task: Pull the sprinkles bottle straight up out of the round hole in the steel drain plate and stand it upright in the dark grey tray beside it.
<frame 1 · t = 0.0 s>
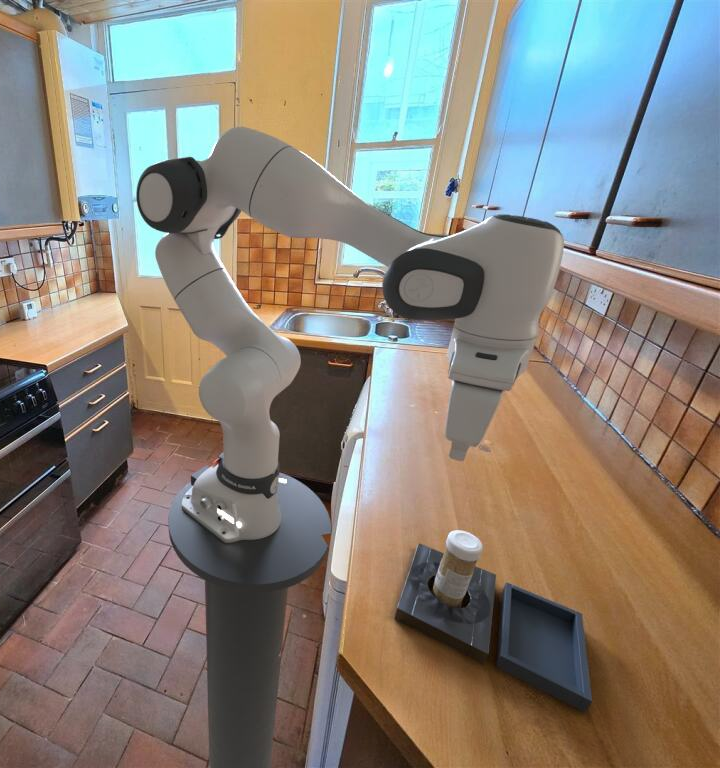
hand: (461, 441, 58), 28 cm above the worktop, tool pointing down, fingers open, 8 cm apart
basin tray: (537, 644, 60), on the worktop
drain plate: (445, 601, 66), on the worktop
sprinkles bottle: (444, 601, 66), resting in drain plate
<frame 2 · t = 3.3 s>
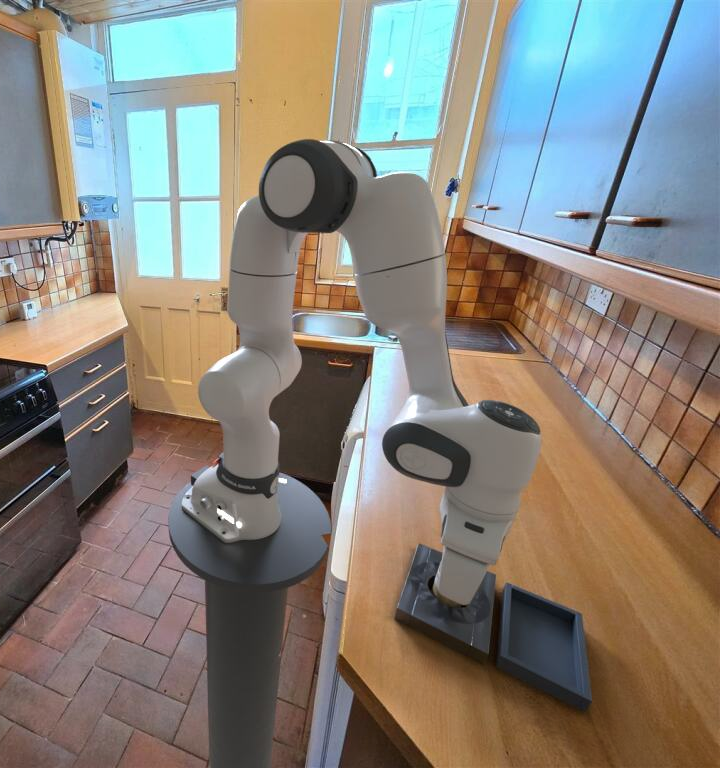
hand: (453, 576, 64), 6 cm above the worktop, tool pointing down, fingers closed on sprinkles bottle, 4 cm apart
sprinkles bottle: (444, 602, 66), resting in drain plate, touching gripper
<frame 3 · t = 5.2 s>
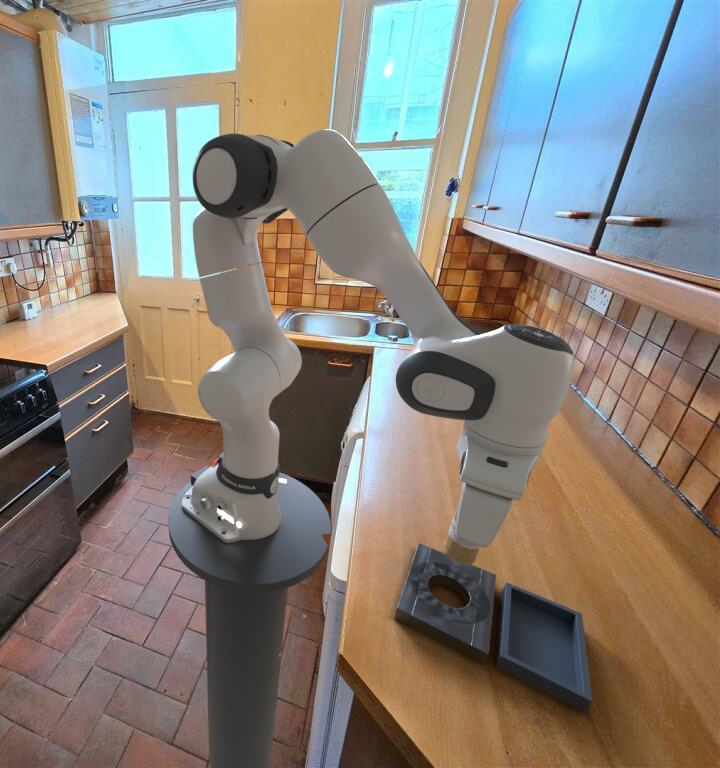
hand: (469, 525, 60), 16 cm above the worktop, tool pointing down, fingers closed on sprinkles bottle, 4 cm apart
sprinkles bottle: (458, 554, 62), point 10 cm above the worktop, touching gripper
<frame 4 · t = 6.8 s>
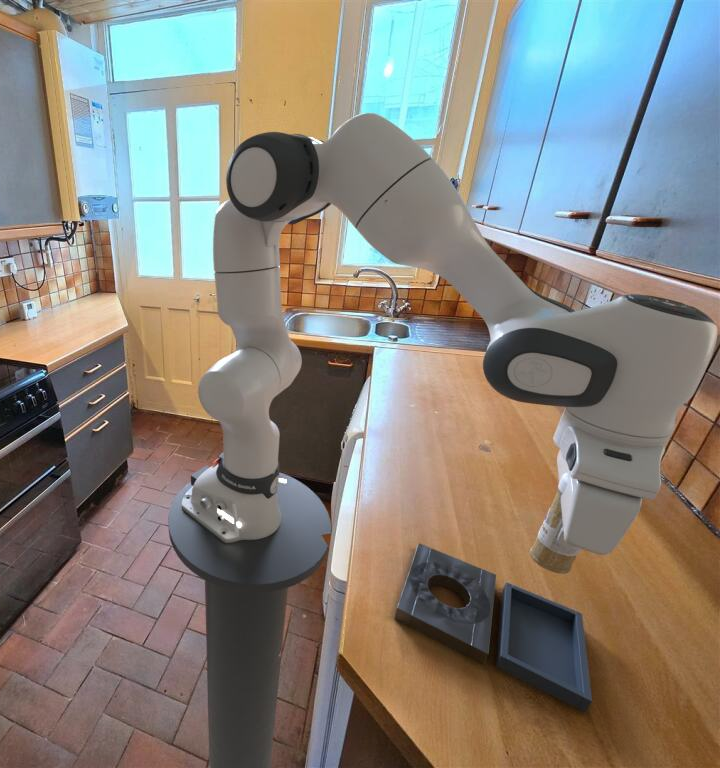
hand: (563, 529, 52), 21 cm above the worktop, tool pointing down, fingers closed on sprinkles bottle, 4 cm apart
sprinkles bottle: (548, 562, 55), point 15 cm above the worktop, touching gripper
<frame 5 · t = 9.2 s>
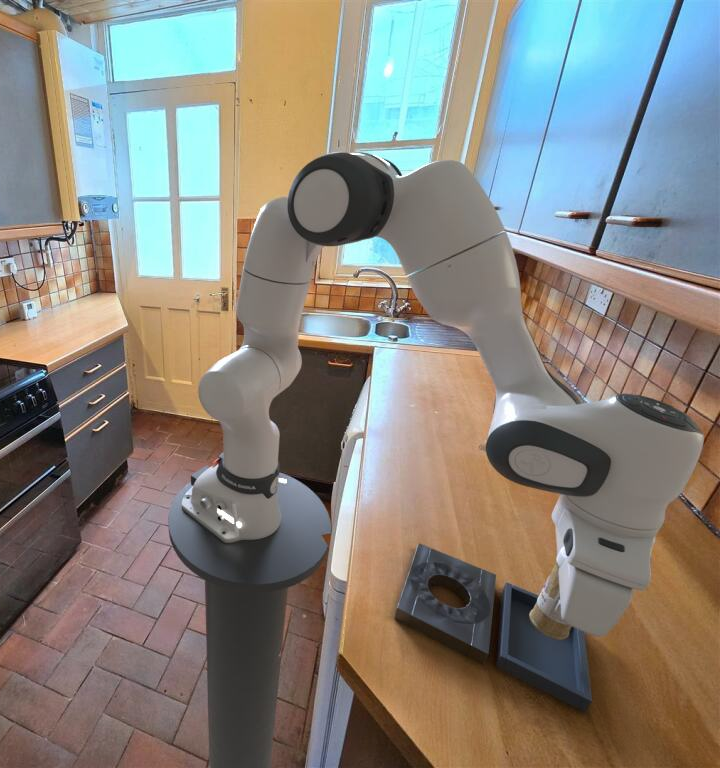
hand: (561, 598, 56), 10 cm above the worktop, tool pointing down, fingers closed on sprinkles bottle, 4 cm apart
sprinkles bottle: (547, 626, 58), point 4 cm above the worktop, touching gripper
when the fingers open (6 cm above the worktop, at t = 10.6 s): sprinkles bottle stays where it is, resting on basin tray.
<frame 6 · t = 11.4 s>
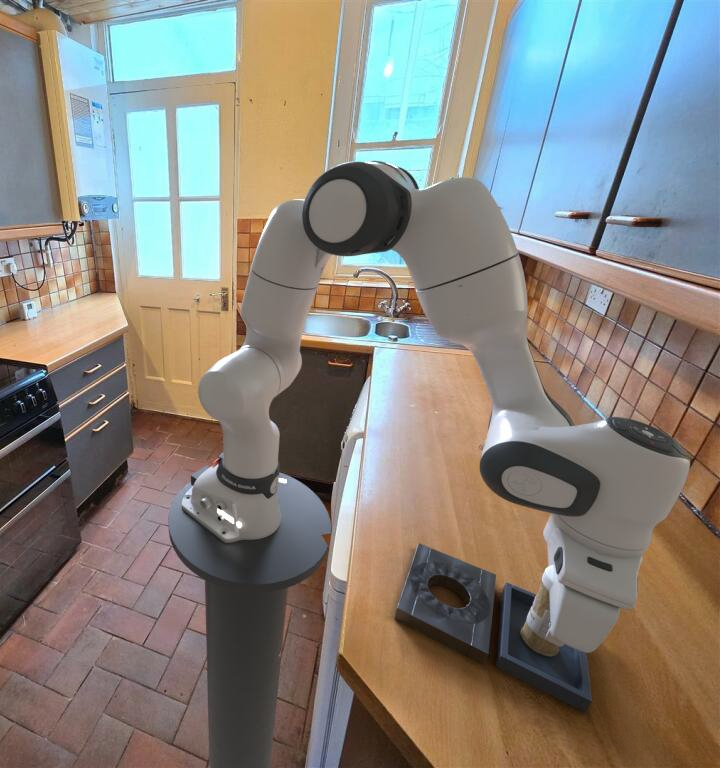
hand: (552, 612, 57), 7 cm above the worktop, tool pointing down, fingers open, 8 cm apart
sprinkles bottle: (538, 643, 60), resting on basin tray
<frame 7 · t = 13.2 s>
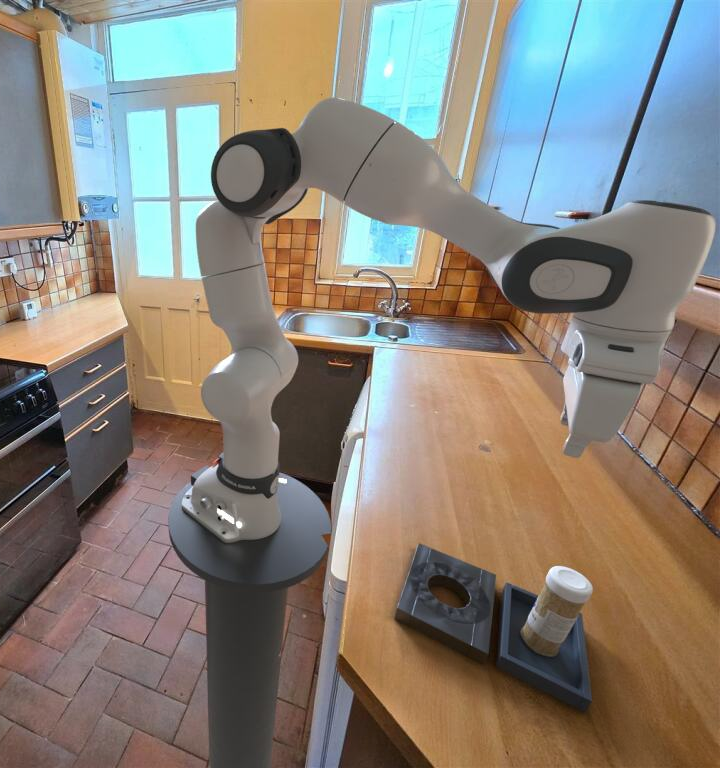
hand: (568, 438, 56), 30 cm above the worktop, tool pointing down, fingers open, 8 cm apart
nothing on the worktop moved.
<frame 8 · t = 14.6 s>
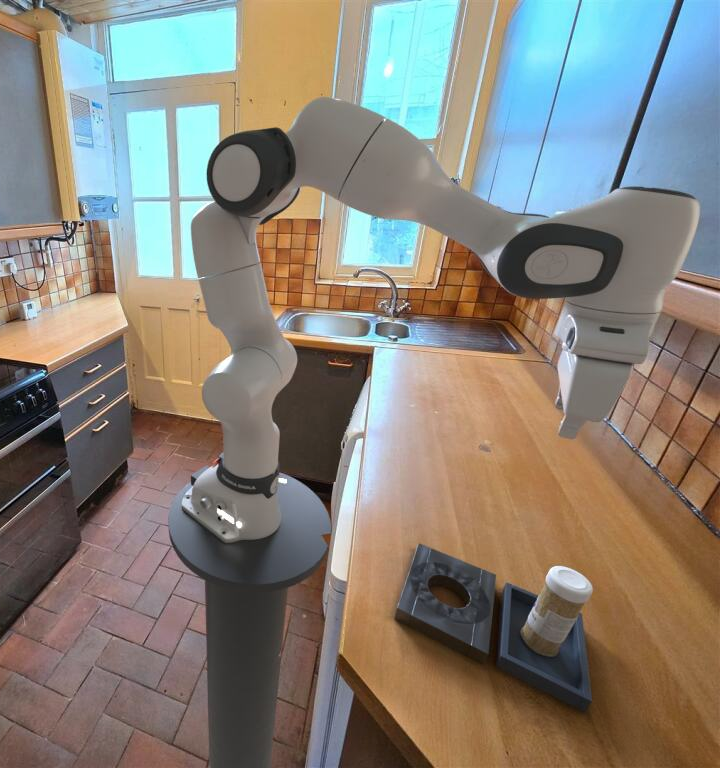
hand: (563, 421, 58), 31 cm above the worktop, tool pointing down, fingers open, 8 cm apart
nothing on the worktop moved.
at the end: sprinkles bottle inside the target area in the basin tray (0.1 cm from its centre), point 0.3 cm above the basin tray's base; sprinkles bottle tilted 0°; the gripper is holding nothing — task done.
